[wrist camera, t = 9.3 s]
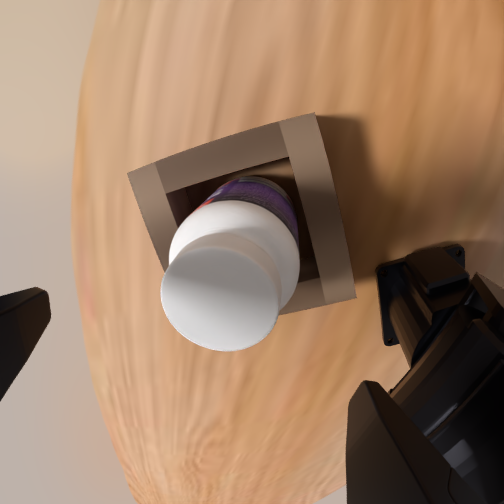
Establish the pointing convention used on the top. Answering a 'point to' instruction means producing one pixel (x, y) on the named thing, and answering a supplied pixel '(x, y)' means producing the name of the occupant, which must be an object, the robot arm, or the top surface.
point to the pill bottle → (233, 265)
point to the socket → (244, 156)
